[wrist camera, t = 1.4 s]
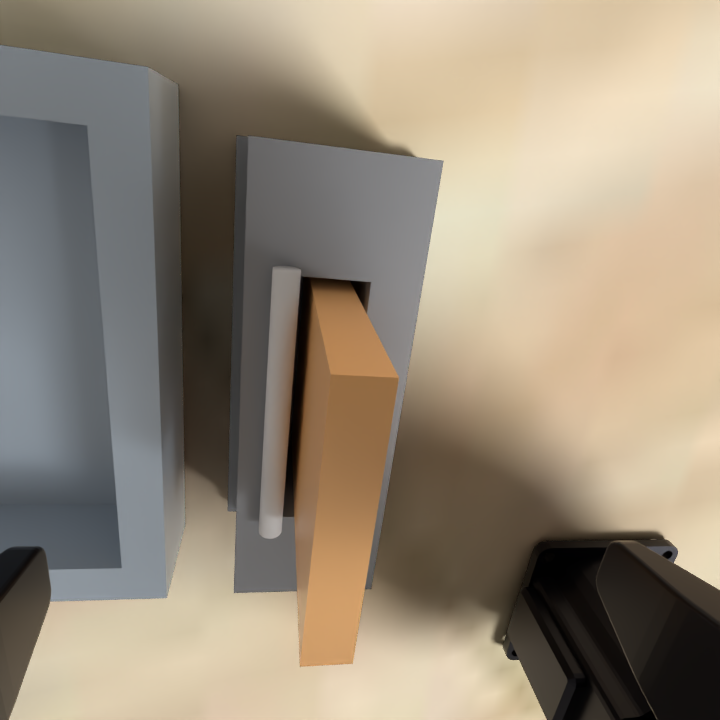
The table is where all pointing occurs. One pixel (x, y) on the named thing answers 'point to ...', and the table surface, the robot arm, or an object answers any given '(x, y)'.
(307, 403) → the tan wooden block
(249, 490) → the dispenser
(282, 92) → the table surface
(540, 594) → the robot arm
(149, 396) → the tray
